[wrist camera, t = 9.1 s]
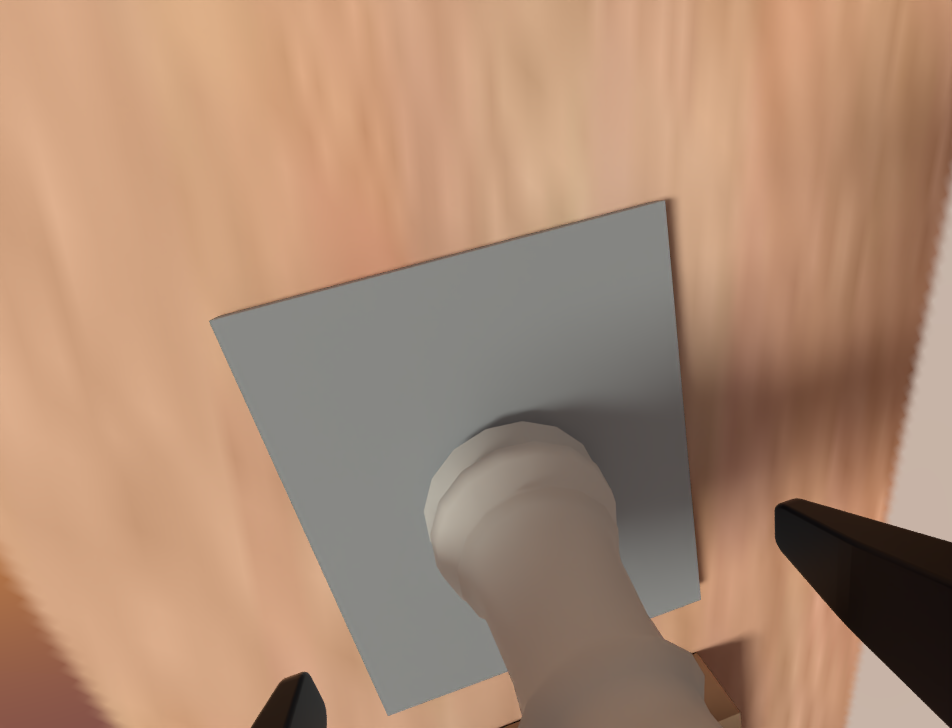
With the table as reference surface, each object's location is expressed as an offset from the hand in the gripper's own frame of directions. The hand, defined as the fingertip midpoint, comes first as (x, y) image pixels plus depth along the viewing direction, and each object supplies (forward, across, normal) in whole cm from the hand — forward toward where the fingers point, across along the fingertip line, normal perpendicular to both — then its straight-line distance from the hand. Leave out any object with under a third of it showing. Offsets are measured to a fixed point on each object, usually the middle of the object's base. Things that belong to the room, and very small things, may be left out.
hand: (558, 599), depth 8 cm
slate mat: (+4, 0, 0) cm, 4 cm away
